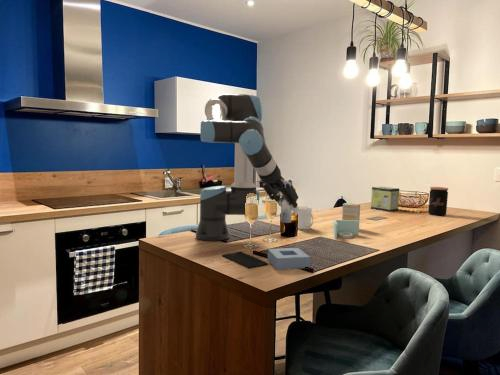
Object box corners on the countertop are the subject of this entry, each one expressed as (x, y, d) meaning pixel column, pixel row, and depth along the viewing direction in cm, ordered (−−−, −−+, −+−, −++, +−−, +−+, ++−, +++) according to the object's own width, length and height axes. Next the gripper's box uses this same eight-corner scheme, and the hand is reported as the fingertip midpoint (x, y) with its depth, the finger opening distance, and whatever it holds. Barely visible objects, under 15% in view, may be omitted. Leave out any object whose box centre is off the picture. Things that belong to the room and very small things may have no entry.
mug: (306, 231, 193) (306, 210, 192) (291, 227, 203) (291, 207, 202) (318, 230, 197) (319, 209, 196) (303, 225, 207) (304, 206, 206)
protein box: (378, 207, 277) (380, 186, 276) (398, 210, 265) (400, 188, 264) (370, 208, 271) (371, 186, 269) (390, 212, 259) (391, 189, 257)
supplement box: (359, 228, 203) (360, 204, 202) (356, 230, 199) (357, 205, 198) (344, 226, 208) (345, 202, 207) (341, 227, 204) (342, 203, 203)
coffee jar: (425, 214, 253) (427, 187, 251) (432, 212, 260) (434, 186, 258) (442, 216, 245) (444, 189, 243) (448, 215, 252) (450, 188, 250)
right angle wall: (334, 240, 179) (335, 224, 178) (333, 234, 191) (333, 219, 190) (361, 241, 177) (362, 225, 177) (358, 235, 189) (358, 220, 188)
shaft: (282, 222, 143) (283, 188, 142) (279, 220, 147) (280, 187, 145) (292, 222, 144) (293, 188, 142) (289, 220, 147) (290, 187, 146)
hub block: (276, 269, 132) (277, 258, 132) (267, 259, 144) (267, 249, 144) (309, 267, 135) (309, 256, 135) (297, 258, 147) (298, 247, 146)
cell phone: (240, 253, 152) (240, 251, 152) (268, 265, 138) (269, 263, 138) (221, 257, 147) (221, 254, 147) (249, 270, 133) (249, 267, 133)
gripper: (243, 175, 137) (269, 215, 151) (282, 178, 126) (307, 221, 140) (253, 160, 141) (278, 201, 155) (292, 162, 130) (315, 206, 144)
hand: (291, 211), depth 148 cm, fingers closed on shaft, 4 cm apart
